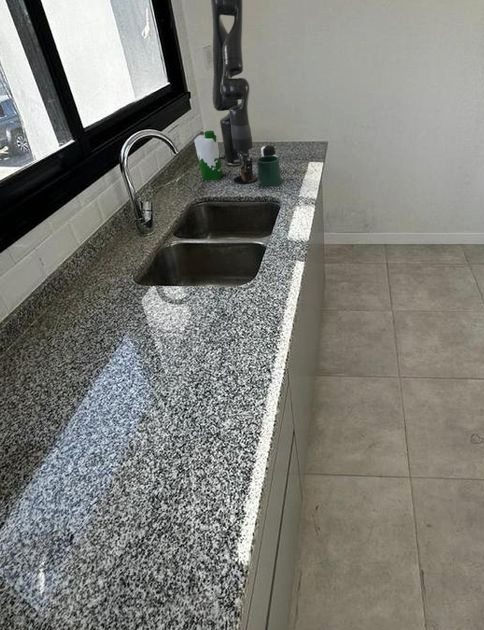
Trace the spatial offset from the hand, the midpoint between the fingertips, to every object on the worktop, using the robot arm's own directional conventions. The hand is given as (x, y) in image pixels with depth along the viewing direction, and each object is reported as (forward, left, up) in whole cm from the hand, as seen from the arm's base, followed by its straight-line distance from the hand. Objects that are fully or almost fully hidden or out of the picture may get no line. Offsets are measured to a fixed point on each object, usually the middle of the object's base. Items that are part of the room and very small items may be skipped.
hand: (247, 178), depth 181 cm
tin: (-3, +10, -5) cm, 12 cm away
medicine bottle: (-15, +14, -5) cm, 21 cm away
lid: (-11, +1, -4) cm, 12 cm away
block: (0, 0, 0) cm, 0 cm away
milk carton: (-22, -11, -5) cm, 25 cm away
